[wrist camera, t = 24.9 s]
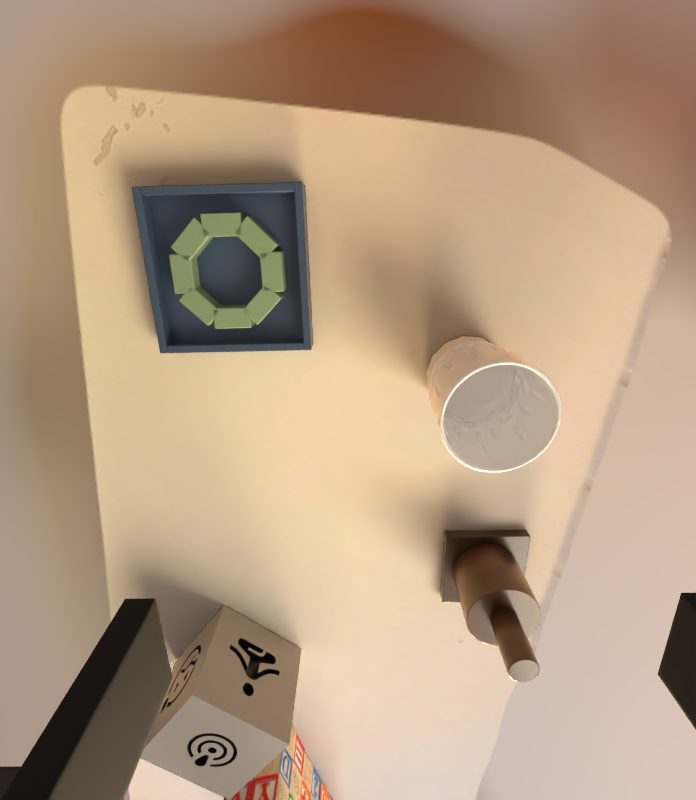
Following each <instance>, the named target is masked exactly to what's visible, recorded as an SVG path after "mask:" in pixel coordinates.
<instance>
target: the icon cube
mask: <svg viewBox="0 0 696 800" xmlns="http://www.w3.org/2000/svg"><path fill="white" fill-rule="evenodd" d="M300 655H301V648H299V647H297V646H296V645H294V644H292V643H290V642H289V641H287V640H285V639H283V638H281V637H280V636H278V635H276V634H274V633H273V632H271V631H269V630H267V629H266V628H264V627H262V626H260V625H259V624H257V623H255V622H253V621H251V620H250V619H248V618H246V617H244V616H243V615H241V614H239V613H237V612H236V611H234V610H232V609H230V608H229V607H227V606H225V605H224V606H223V607H222V608H221V609H220V610H219V611H218V613H217V614H216V615H215V616H214V617H213V618H212V620H211V621H210V622H209V623H208V624H207V625H206V627H205V628H204V629H203V630H202V631H201V632H200V634H199V635H198V636H197V637H196V638H195V639H194V640H193V642H192V643H191V644H190V645H189V646H188V647H187V649H186V650H185V651H184V652H183V653H182V654H181V656H180V657H179V658H178V659H177V660H176V663H175V665H174V668H173V670H172V680H171V683H170V685H169V688H168V690H167V693H166V695H165V698H164V700H163V703H162V705H161V707H160V710H159V712H158V715H157V717H156V720H155V722H154V725H153V727H152V730H151V732H150V735H149V737H148V740H147V742H146V745H145V747H144V749H143V752H142V754H141V757H140V758H141V759H143V760H146V761H148V762H150V763H152V764H154V765H156V766H158V767H161V768H163V769H165V770H167V771H169V772H171V773H173V774H176V775H178V776H180V777H182V778H184V779H186V780H188V781H190V782H193V783H195V784H197V785H199V786H201V787H203V788H205V789H208V790H210V791H212V792H214V793H216V794H218V795H220V796H223V797H225V798H227V799H229V800H230V799H231V798H232V797H233V796H234V795H235V794H236V793H237V792H239V791H240V790H241V789H242V788H243V787H244V786H245V785H246V784H247V783H248V782H249V781H250V780H251V779H253V778H254V777H255V776H256V775H257V774H258V773H259V772H260V771H261V770H262V769H263V768H264V767H265V766H267V765H268V764H269V763H270V762H271V761H272V760H273V759H274V758H275V757H276V756H277V755H278V754H279V753H281V752H282V751H283V750H284V749H285V748H286V747H287V746H288V745H289V742H290V734H291V726H292V718H293V710H294V702H295V694H296V686H297V678H298V670H299V662H300Z"/></svg>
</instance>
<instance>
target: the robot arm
mask: <svg viewBox="0 0 696 800" xmlns="http://www.w3.org/2000/svg"><path fill="white" fill-rule="evenodd" d="M658 675H659V677H660V678H661V680H662V681H663V682H664V684H665V685H666V687H667V688H668V689H669V691H670V692H671V694H672V695H673V697H674V698H675V700H676V701H677V703H678V704H679V706H680V707H681V708H682V710H683V712H684V713H685V714H686V716H687V717H688V719H689V720H690V722H691V723H692V725H693V726H694V728H695V729H696V593H681V596H680V599H679V603H678V606H677V610H676V613H675V617H674V620H673V623H672V627H671V631H670V634H669V638H668V641H667V644H666V648H665V651H664V655H663V658H662V661H661V665H660V669H659V672H658ZM171 680H172V673H171V669H170V664H169V660H168V655H167V650H166V646H165V641H164V637H163V632H162V627H161V623H160V618H159V614H158V609H157V604H156V600H155V599H125V600H124V602H123V603H122V605H121V607H120V608H119V610H118V612H117V613H116V615H115V616H114V618H113V620H112V621H111V623H110V624H109V626H108V628H107V629H106V631H105V633H104V634H103V636H102V637H101V639H100V641H99V642H98V644H97V645H96V647H95V649H94V650H93V652H92V654H91V655H90V657H89V658H88V660H87V662H86V663H85V665H84V666H83V668H82V670H81V671H80V673H79V674H78V676H77V678H76V679H75V681H74V683H73V684H72V686H71V687H70V689H69V691H68V692H67V694H66V695H65V697H64V699H63V700H62V702H61V704H60V705H59V707H58V709H57V710H56V712H55V713H54V715H53V716H52V718H51V720H50V721H49V723H48V725H47V726H46V728H45V729H44V731H43V733H42V734H41V736H40V737H39V739H38V741H37V742H36V744H35V746H34V747H33V749H32V750H31V752H30V754H29V755H28V757H27V758H26V760H25V762H24V763H23V765H22V766H21V767H0V800H123V799H124V796H125V794H126V791H127V789H128V787H129V784H130V782H131V779H132V777H133V774H134V772H135V769H136V767H137V764H138V762H139V759H140V757H141V754H142V752H143V749H144V747H145V745H146V742H147V740H148V737H149V735H150V732H151V730H152V727H153V725H154V722H155V720H156V717H157V715H158V712H159V710H160V707H161V705H162V703H163V700H164V698H165V695H166V693H167V690H168V688H169V685H170V683H171Z"/></svg>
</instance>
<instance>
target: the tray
mask: <svg viewBox="0 0 696 800" xmlns="http://www.w3.org/2000/svg"><path fill="white" fill-rule="evenodd" d="M132 191H133V197H134V203H135V208H136V214H137V220H138V226H139V232H140V238H141V243H142V249H143V255H144V261H145V267H146V273H147V278H148V284H149V290H150V296H151V302H152V307H153V313H154V319H155V325H156V331H157V337H158V342H159V348H160V353H192V352H240V351H287V350H311V349H312V346H313V329H312V310H311V290H310V271H309V252H308V233H307V213H306V194H305V184H303V183H302V182H284V183H248V184H213V185H177V186H141V187H132ZM205 213H244V214H245V218H246V216H251V217H253V218H254V219H255V220H256V221H257V222H258V223H259V224H260V225H261V226H262V227H263V228H264V229H265V230H266V231H267V232H269V233H270V234H271V235H272V236H273V237H274V238H275V239H276V240H277V241H278V242H279V243H280V245H279V247H278V248H277V249H276V250H275V251H284V262H285V276H286V289H285V290H284V291H280V292H281V293H282V294H283V295H284V296H283V298H282V299H281V300H280V301H279V302H278V303H277V304H276V305H275V307H274V308H273V309H272V310H271V311H270V312H269V313H268V314H267V316H266V317H265V318H264V319H263V320H262V321H261V322H260V323H259V324H258V325H257V324H256V323H255V324H254V325H253V326H252V327H251V328H222V329H216V328H215V325H214V322H213V323H212V324H210V325H209V326H208V325H206V324H205V323H204V322H203V321H202V320H201V319H199V318H198V317H197V316H196V315H195V314H194V313H192V312H191V311H190V310H189V309H188V308H187V307H186V306H184V305H183V304H182V303H181V302H180V301H179V299H180V298H181V297H182V295H183V294H175V292H174V285H173V279H172V272H171V266H170V259H169V255H170V254H177V253H176V252H175V251H174V250H173V249H172V248H171V246H172V245H173V243H174V242H175V241H176V239H177V238H178V237H179V236H180V234H181V233H182V232H183V230H184V229H185V228H186V226H187V225H188V224H189V223H190V221H191V220H192V219H193V218H194V217H195V218H201V216H200V214H205ZM197 263H198V270H199V278H200V285H201V287H202V288H203V289H204V290H205V291H206V292H208V293H209V294H210V295H211V296H212V297H213V298H214V299H215V300H217V301H218V302H219V303H220V304H221V305H247V304H248V303H249V302H250V301H251V300H252V298H253V297H254V296H255V295H256V294H257V293H258V292H259V290H260V289H261V288H262V276H261V264H260V257H259V256H258V255H257V254H256V253H255V252H254V251H253V250H252V249H250V248H249V247H248V246H247V245H246V244H245V243H244V242H243V241H242V240H241V239H240V238H239V237H238V236H226V237H213V238H212V240H211V241H210V242H209V243H208V245H207V246H206V247H205V248H204V250H203V251H202V252H201V253H200V255H199V256H198V257H197Z"/></svg>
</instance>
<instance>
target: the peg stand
mask: <svg viewBox="0 0 696 800" xmlns="http://www.w3.org/2000/svg"><path fill="white" fill-rule="evenodd" d="M529 540H530V535H529V533H528V532H527V530H489V531H445V532H444V549H443V566H442V583H441V598H442V602H460V603H461V607H462V610H463V614H464V617H465V621H466V624H467V627H468V630H469V632H470V633H471V634H472V636H473V637H475V638H476V639H477V640H478V641H480V642H482V643H485V644H488V645H492V646H499V649H500V652H501V655H502V658H503V661H504V663H505V666H506V669H507V672H508V675H509V676H510V678H511V679H513V680H515V681H518V682H526V681H530V680H532V679H534V678H535V677H536V676H537V675H538V673H539V665H538V662H537V660H536V658H535V655H534V653H533V651H532V648H531V646H530V643H529V641H528V639H527V638H528V637H529V636H530V635H531V634H532V633H533V632H534V631H535V630H536V629H537V627H538V625H539V623H540V619H541V610H540V607H539V605H538V603H537V601H536V599H535V596H534V594H533V592H532V590H531V588H530V586H529V584H528V582H527V580H526V578H525V569H526V562H527V555H528V547H529Z"/></svg>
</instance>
